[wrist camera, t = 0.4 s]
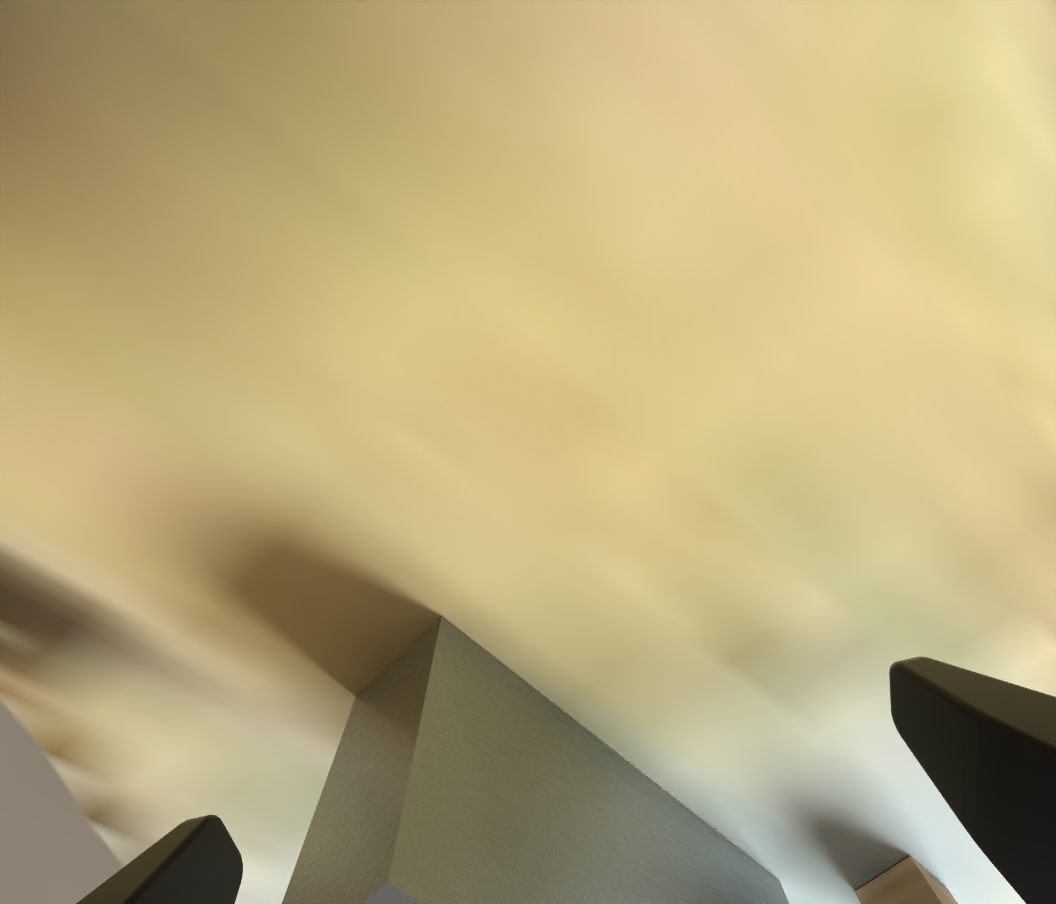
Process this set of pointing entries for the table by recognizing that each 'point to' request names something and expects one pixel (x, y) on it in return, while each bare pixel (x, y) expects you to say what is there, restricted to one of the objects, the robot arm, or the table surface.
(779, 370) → the table surface
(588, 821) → the silver rectangular block
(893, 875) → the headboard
